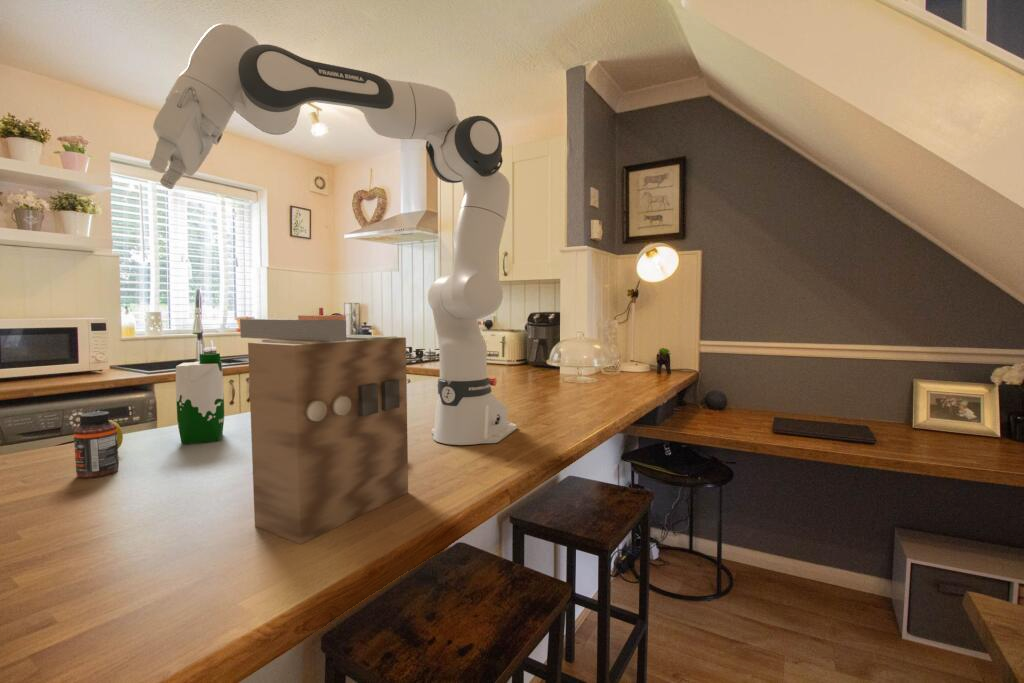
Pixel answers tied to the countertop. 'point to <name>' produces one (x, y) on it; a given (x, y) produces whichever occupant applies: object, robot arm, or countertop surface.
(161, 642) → the countertop surface
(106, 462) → the supplement bottle
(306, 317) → the paddle lever
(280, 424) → the panel block
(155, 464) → the countertop surface
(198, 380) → the milk carton
